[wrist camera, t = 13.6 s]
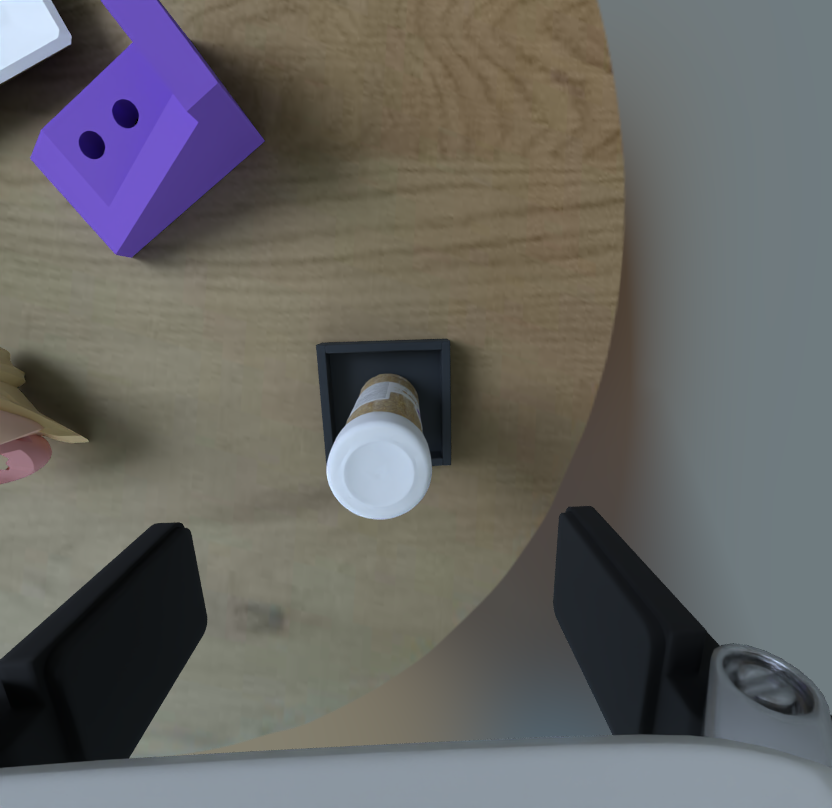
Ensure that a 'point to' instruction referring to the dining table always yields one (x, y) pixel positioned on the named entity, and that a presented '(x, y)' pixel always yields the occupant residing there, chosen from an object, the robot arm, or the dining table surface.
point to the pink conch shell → (24, 427)
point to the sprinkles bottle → (381, 452)
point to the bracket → (144, 133)
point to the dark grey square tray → (410, 359)
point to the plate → (29, 35)
